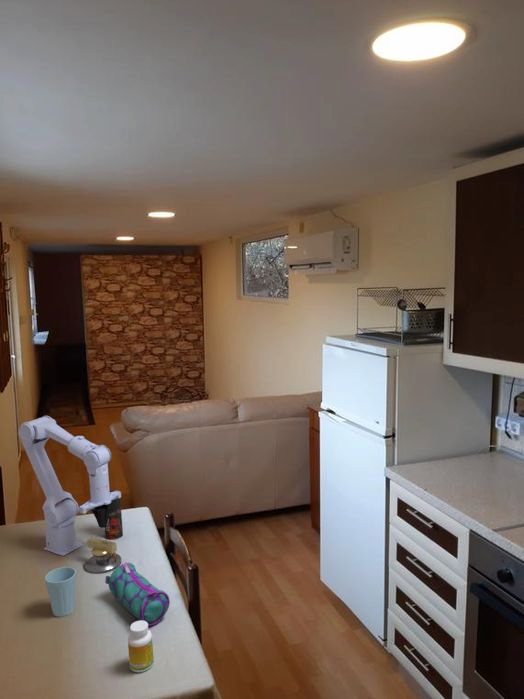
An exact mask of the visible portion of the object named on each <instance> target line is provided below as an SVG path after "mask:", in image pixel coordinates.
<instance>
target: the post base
mask: <svg viewBox="0 0 524 699" xmlns="http://www.w3.org/2000/svg"><path fill="white" fill-rule="evenodd" d="M116 552H117V551H115V552H114V553H113V554H112V555H107V556H104V557H94V556H93V555H92V556H91V557H89V558H87V559H86V560H85V562H84V564H83V565H84V566H83V567H84V570H85V572H87V573H90V574H96V575H97V574H98V575H100V574H106V573H109V572H113V571H114V570H115V569H116V568H117V567H119V566H121V565H122V556H121V555H120V554H119V553H116Z"/></svg>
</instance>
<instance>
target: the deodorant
mask: <svg viewBox="0 0 524 699" xmlns="http://www.w3.org/2000/svg"><path fill="white" fill-rule="evenodd" d="M114 491H115V490H110V493H111V492H114ZM111 504H112V506H113V507H112V509H111V511H110V513H109V516H108V520H107V525H106V527H105V528H104V538H105V539H106V540H107V541H115V540H118V539H120V538H122V537H123V536H124V532H123V518H122V517H123V516H122V502H121V498H116V499H114V500H112V501H111Z"/></svg>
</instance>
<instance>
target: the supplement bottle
mask: <svg viewBox="0 0 524 699" xmlns="http://www.w3.org/2000/svg"><path fill="white" fill-rule="evenodd" d="M129 631H130V632H129V635H128V637H127V649H128V662H129V668H130V670H132V672H135V673H144V672H147V671H148V670H150V669H151V668H152V667H153V665H154V643H153V634H152V632H151V631H150V629H149V626H148V623H147V622H146V621H142V620H136V621H134V622H132V623H131V624H130V627H129ZM146 670H147V671H146Z"/></svg>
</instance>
